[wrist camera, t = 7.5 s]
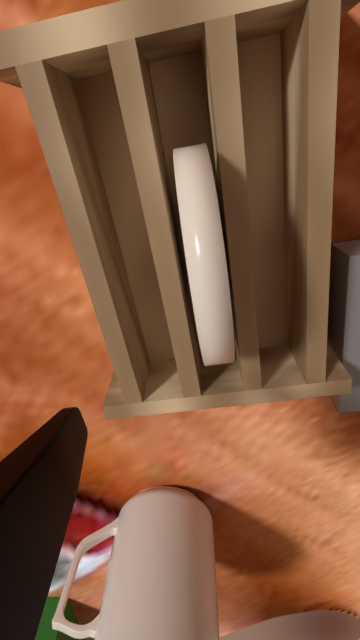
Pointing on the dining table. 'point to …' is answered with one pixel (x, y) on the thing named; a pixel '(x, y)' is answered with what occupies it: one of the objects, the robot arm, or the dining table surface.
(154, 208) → the rack
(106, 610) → the mug
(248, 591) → the dining table surface
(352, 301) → the stand
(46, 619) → the green cereal box
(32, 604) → the robot arm
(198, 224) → the plate
